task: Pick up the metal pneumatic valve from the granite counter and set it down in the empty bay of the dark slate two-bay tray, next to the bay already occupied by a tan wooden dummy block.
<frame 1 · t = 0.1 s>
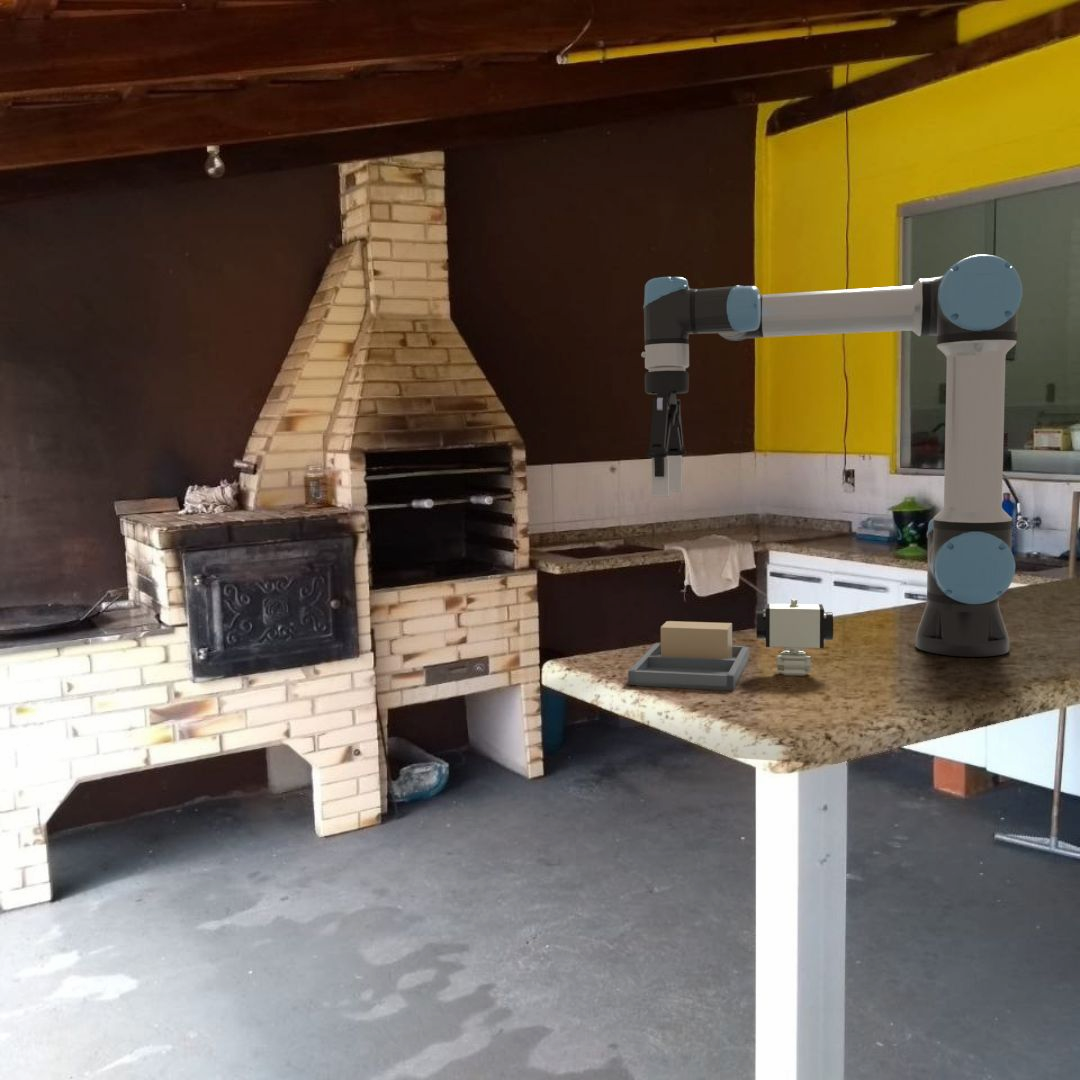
hand: (667, 494, 182), 28 cm above the counter, fingers open, 13 cm apart
pneumatic valve: (793, 674, 167), on the counter
bay tray: (691, 671, 170), on the counter
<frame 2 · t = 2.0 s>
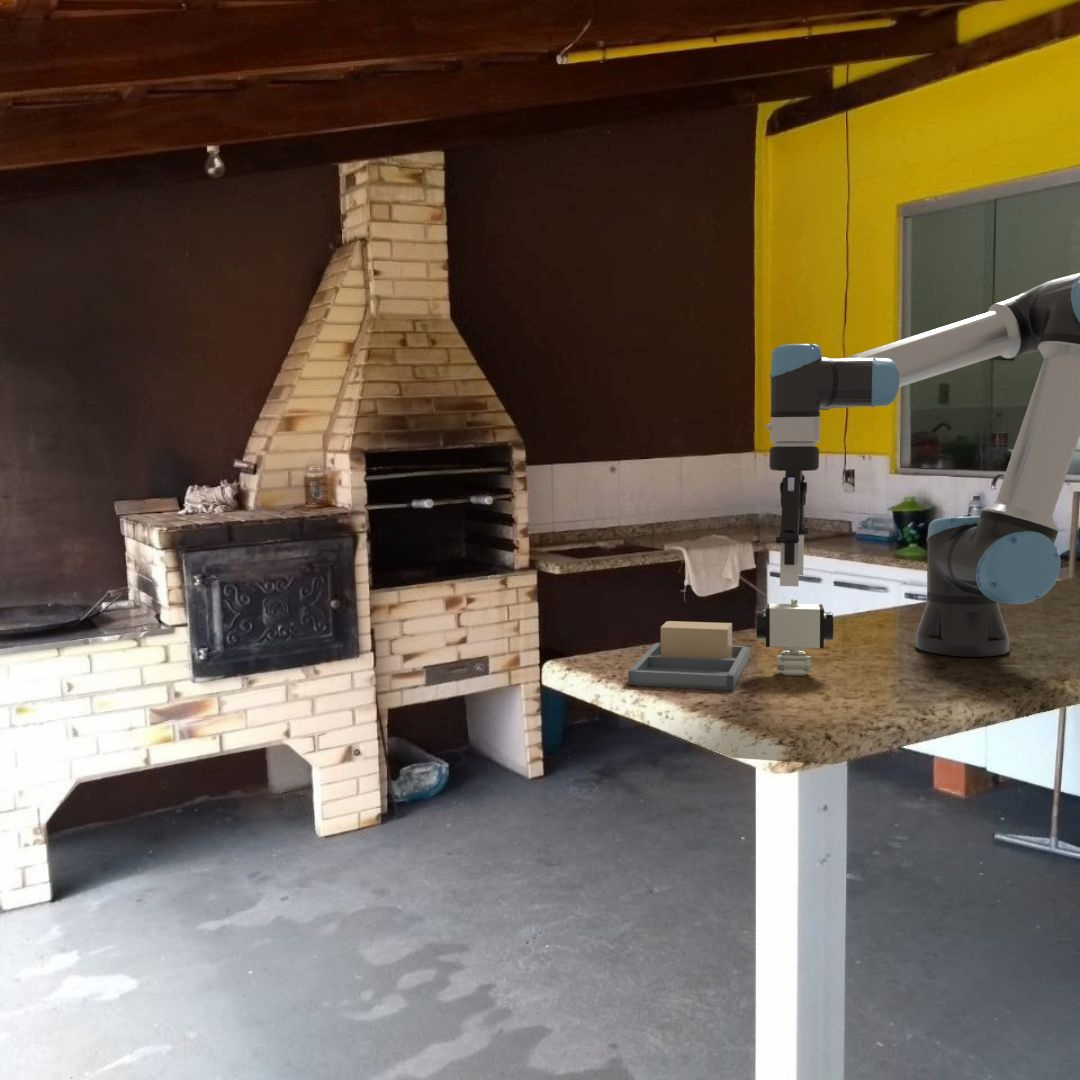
hand: (792, 580, 166), 15 cm above the counter, fingers open, 13 cm apart
nothing on the counter moved.
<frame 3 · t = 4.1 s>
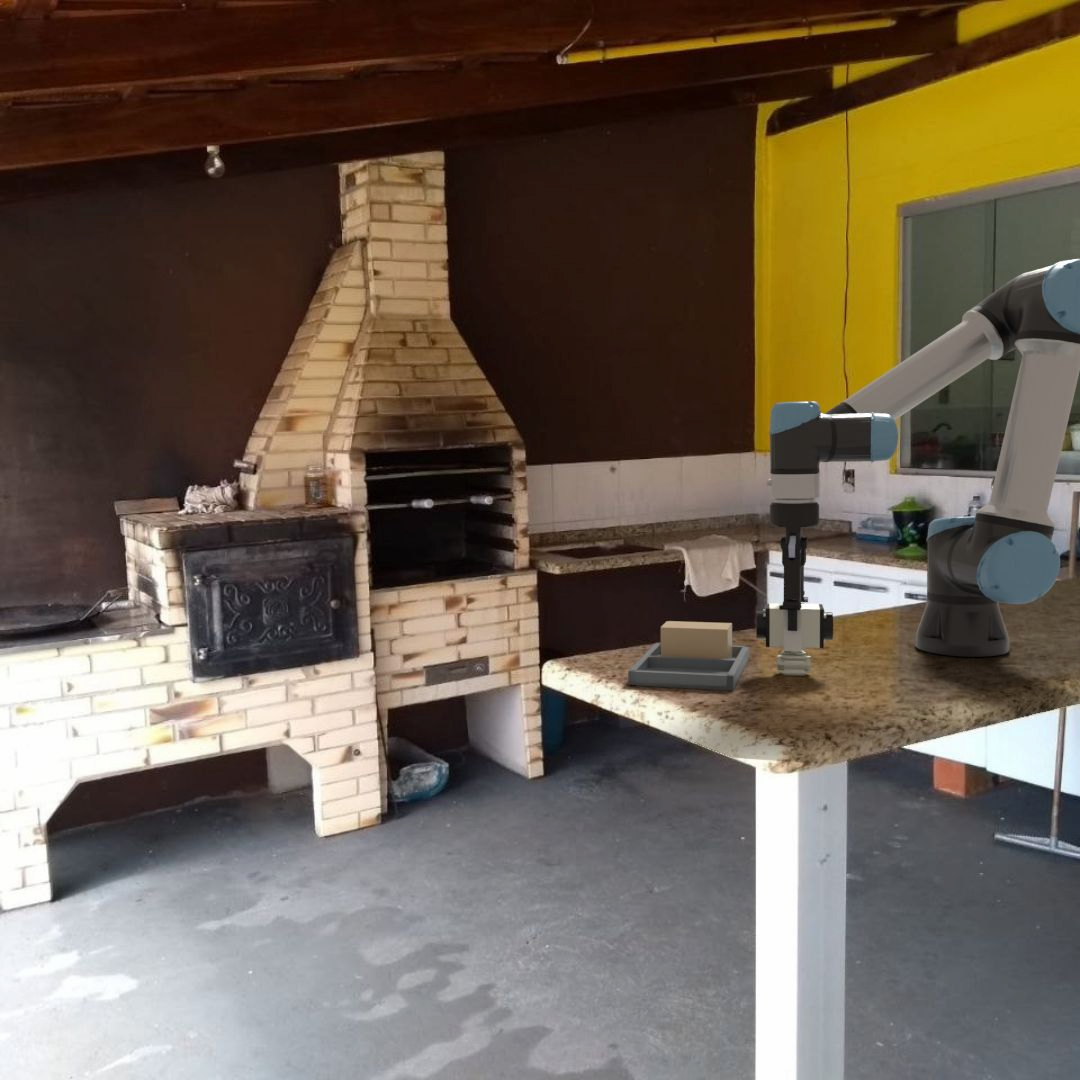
hand: (793, 646, 167), 4 cm above the counter, fingers closed on pneumatic valve, 5 cm apart
pneumatic valve: (793, 674, 167), on the counter, touching gripper
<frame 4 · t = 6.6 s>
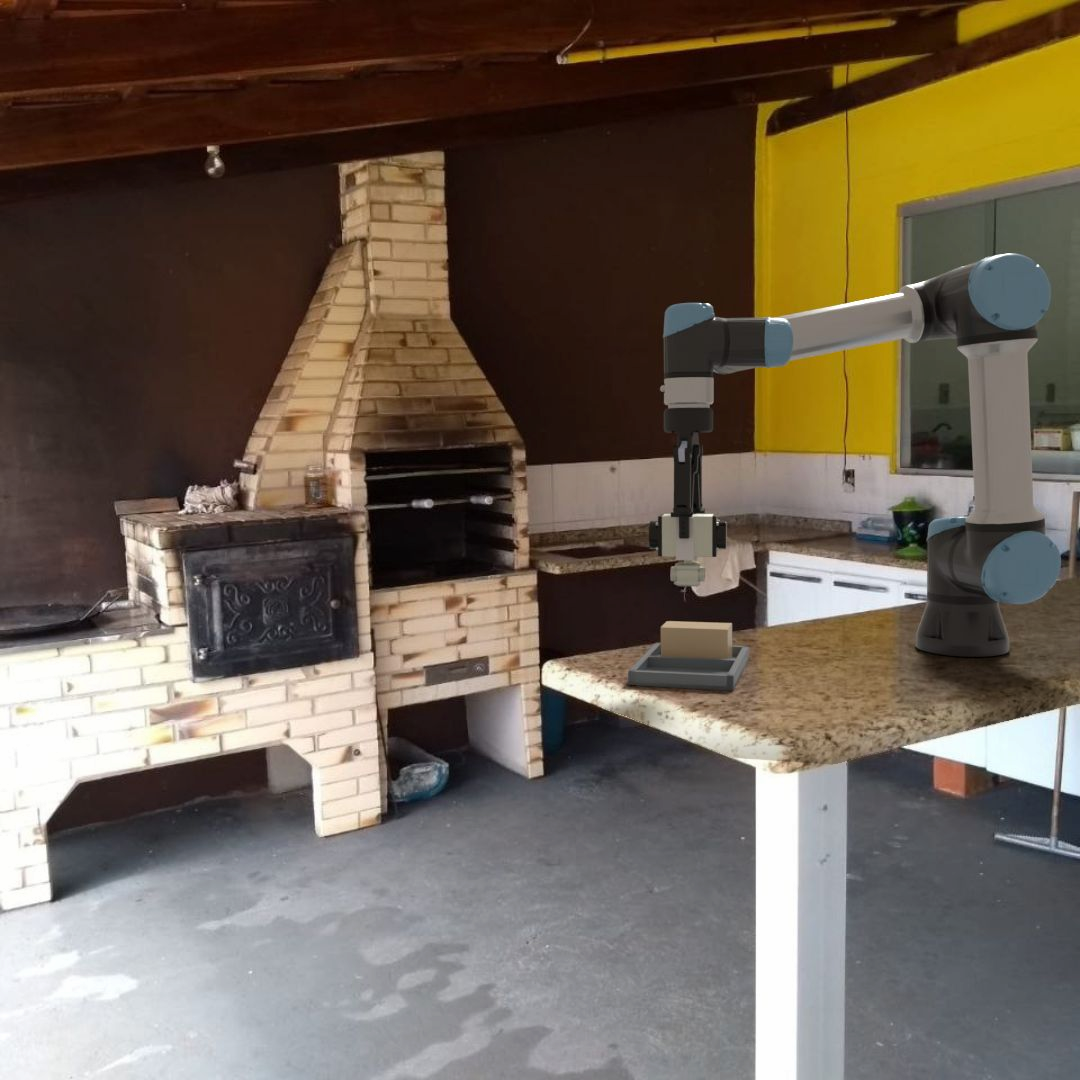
hand: (688, 557, 163), 19 cm above the counter, fingers closed on pneumatic valve, 5 cm apart
pneumatic valve: (688, 585, 163), point 15 cm above the counter, touching gripper
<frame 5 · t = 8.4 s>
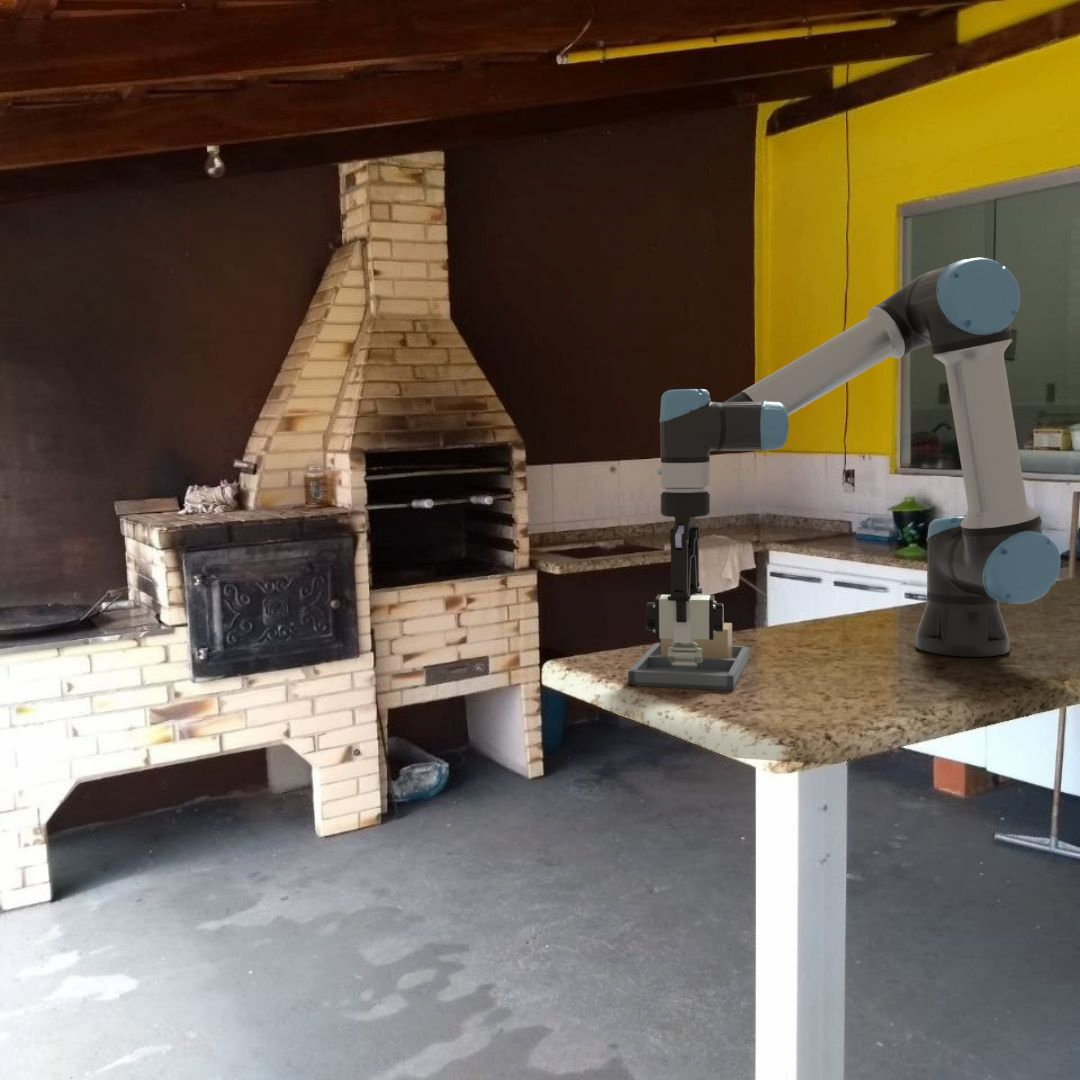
hand: (685, 638, 164), 6 cm above the counter, fingers closed on pneumatic valve, 5 cm apart
pneumatic valve: (685, 666, 165), point 2 cm above the counter, touching gripper
when the fingers open (5 cm above the counter, at t = 9.5 s): pneumatic valve stays where it is, resting on bay tray.
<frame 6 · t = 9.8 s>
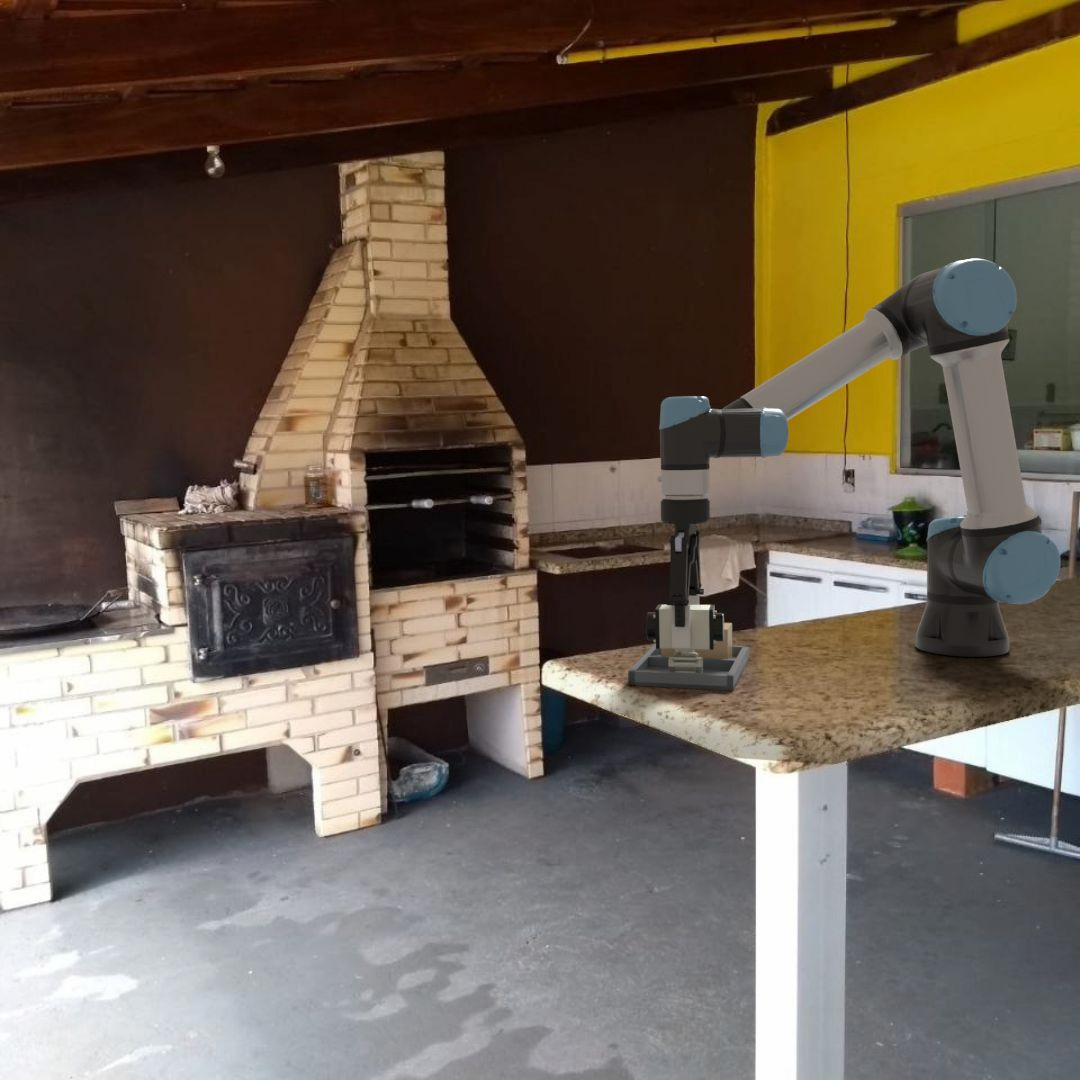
hand: (686, 641, 164), 6 cm above the counter, fingers open, 9 cm apart
pneumatic valve: (686, 676, 165), resting on bay tray
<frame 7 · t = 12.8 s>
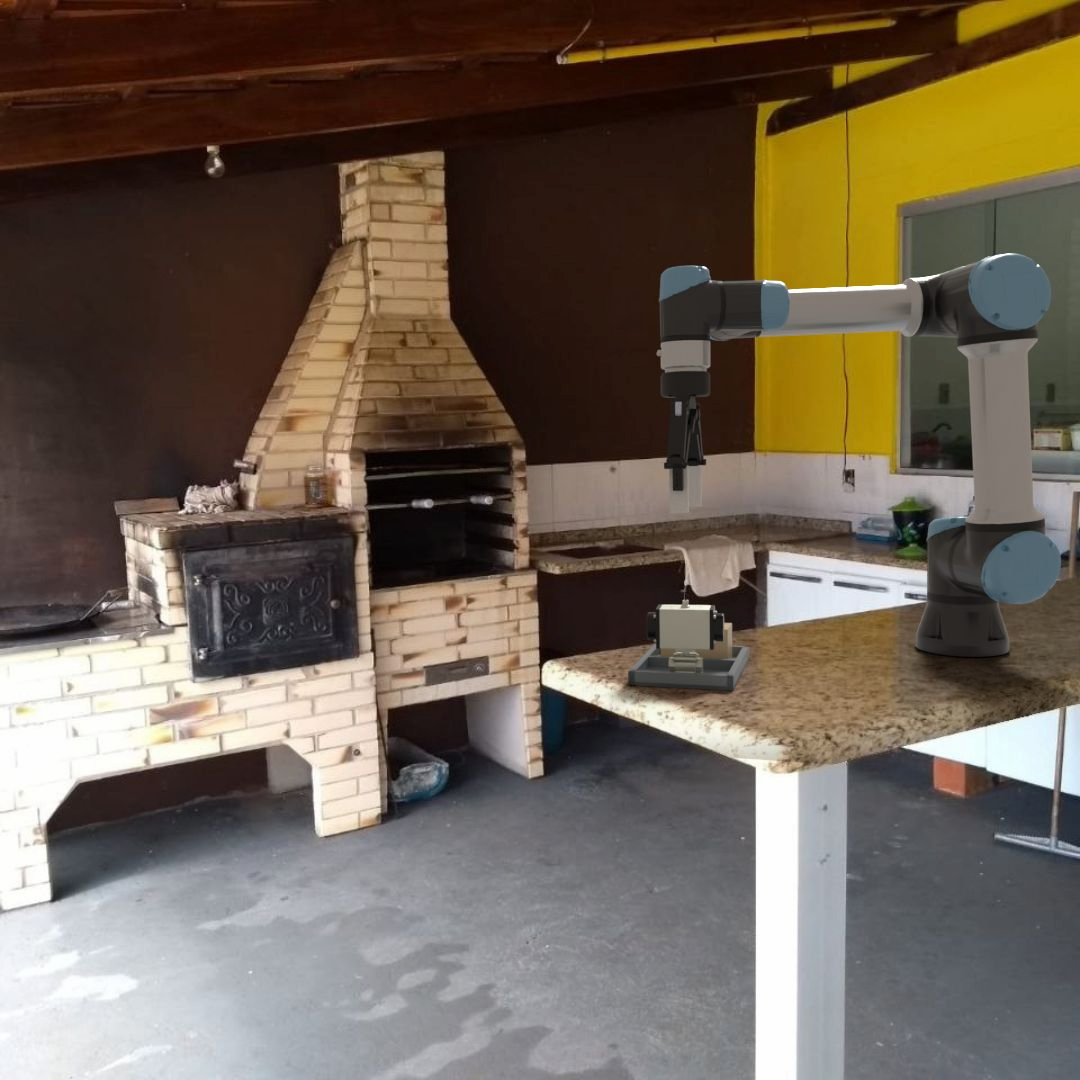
hand: (686, 510, 162), 27 cm above the counter, fingers open, 13 cm apart
nothing on the counter moved.
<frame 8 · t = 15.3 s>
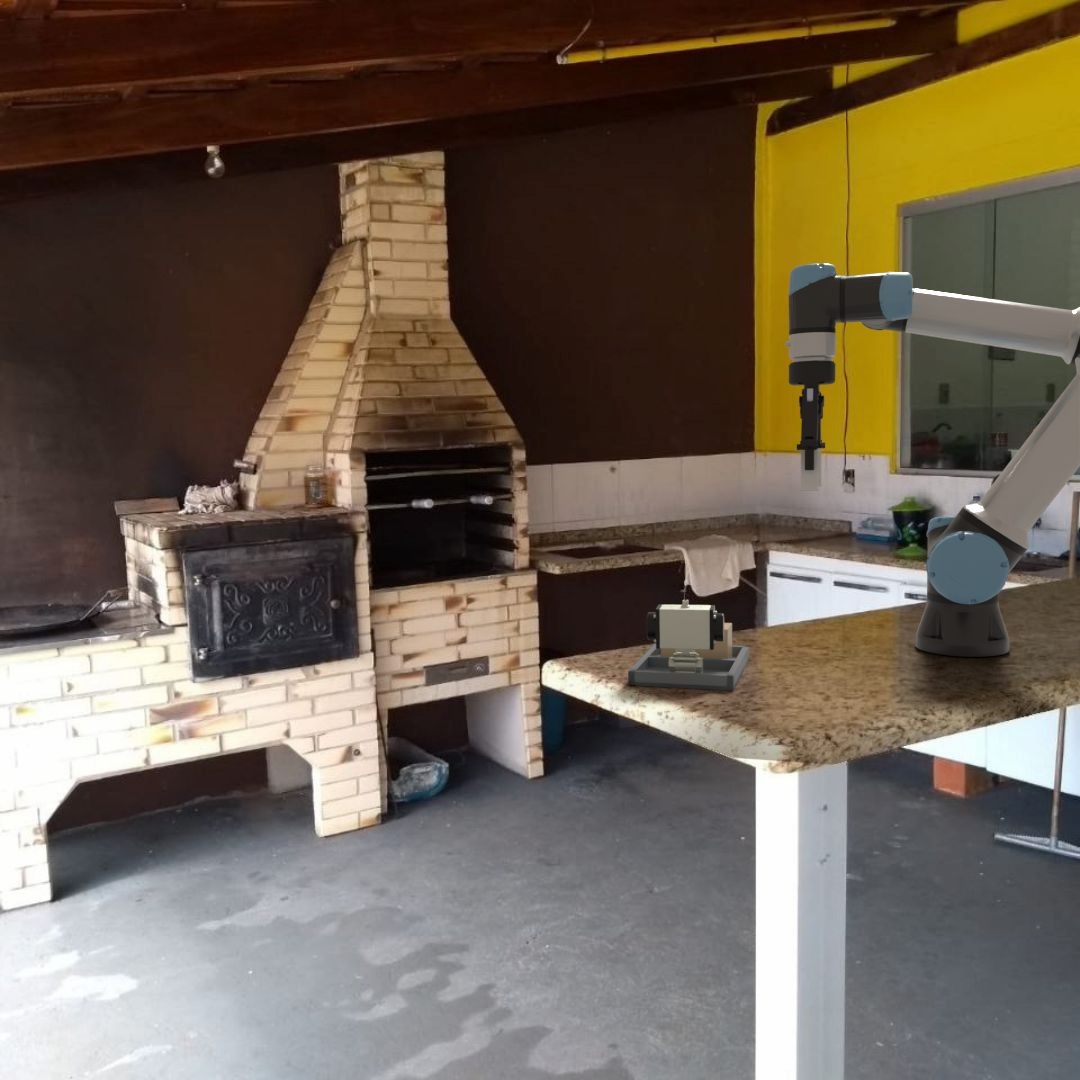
hand: (811, 488, 176), 29 cm above the counter, fingers open, 13 cm apart
nothing on the counter moved.
at the end: pneumatic valve inside the target area on the bay tray (0.1 cm from its centre), point 0.4 cm above the bay tray's base; pneumatic valve tilted 0°; the gripper is holding nothing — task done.
